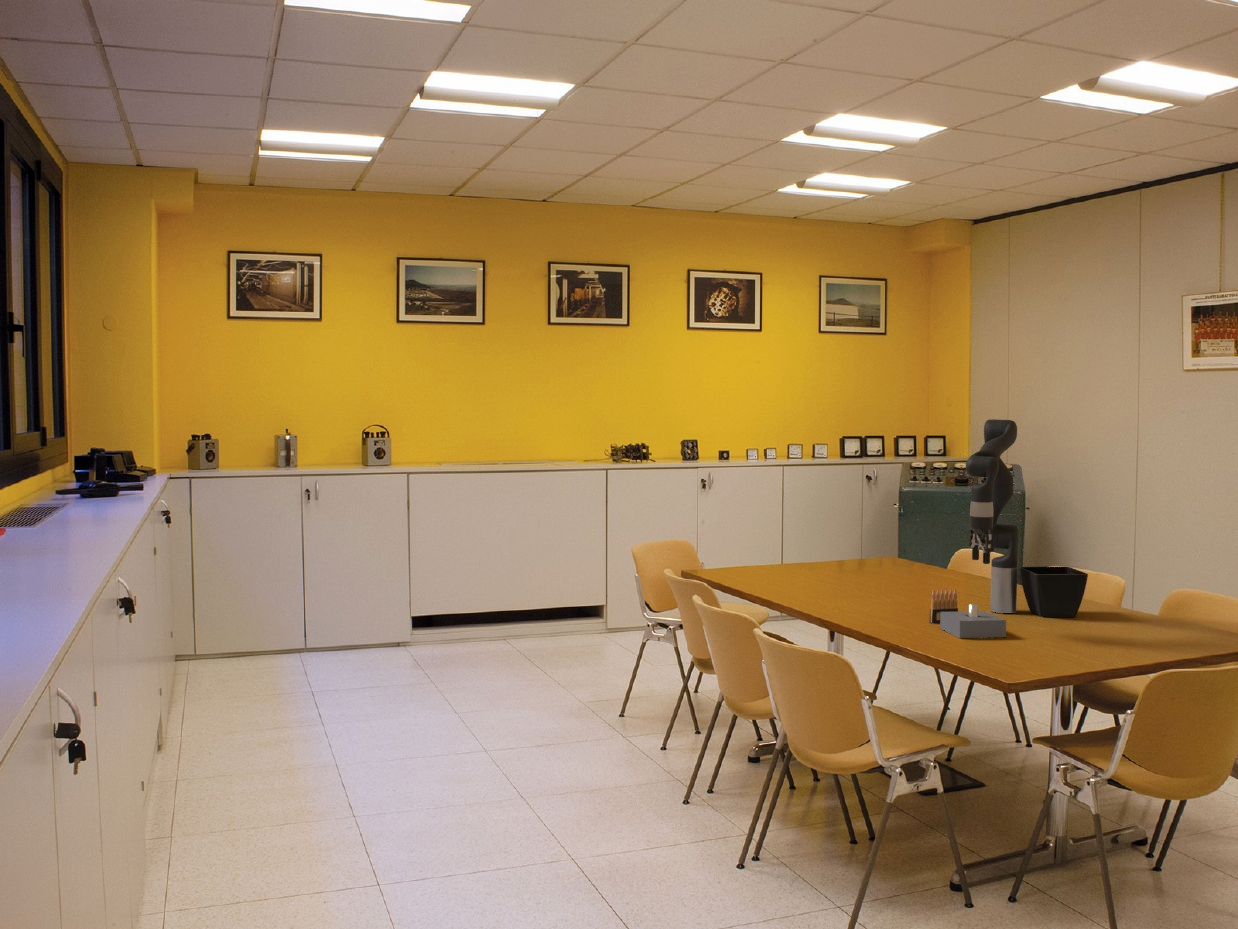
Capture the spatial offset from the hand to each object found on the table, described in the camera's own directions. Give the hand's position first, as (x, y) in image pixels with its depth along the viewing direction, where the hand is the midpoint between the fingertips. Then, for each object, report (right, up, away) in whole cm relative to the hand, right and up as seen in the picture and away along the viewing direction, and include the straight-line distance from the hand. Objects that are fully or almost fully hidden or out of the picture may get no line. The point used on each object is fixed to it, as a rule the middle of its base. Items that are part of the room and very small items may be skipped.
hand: (980, 561), depth 352 cm
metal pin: (-4, -24, -2) cm, 25 cm away
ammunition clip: (-7, -24, +17) cm, 30 cm away
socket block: (-4, -24, -2) cm, 24 cm away
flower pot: (+38, -23, +33) cm, 56 cm away
